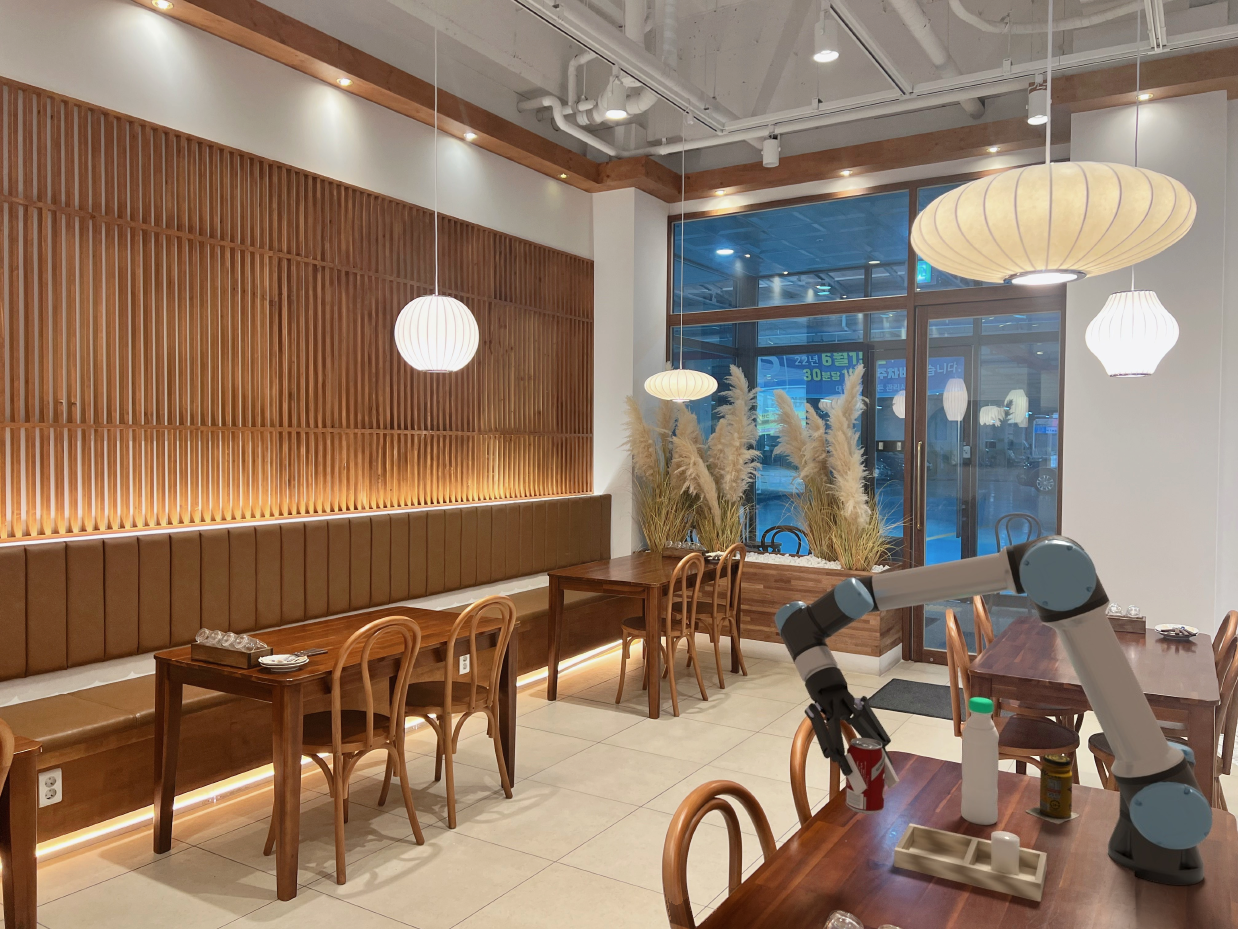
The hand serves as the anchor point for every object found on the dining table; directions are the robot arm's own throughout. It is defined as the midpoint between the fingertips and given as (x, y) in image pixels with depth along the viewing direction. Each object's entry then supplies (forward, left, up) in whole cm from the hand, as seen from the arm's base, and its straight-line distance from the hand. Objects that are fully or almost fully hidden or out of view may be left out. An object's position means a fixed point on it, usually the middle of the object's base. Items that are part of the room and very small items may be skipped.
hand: (877, 788), depth 155 cm
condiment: (-25, -48, -17) cm, 57 cm away
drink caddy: (-14, -11, -16) cm, 24 cm away
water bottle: (-12, -37, -17) cm, 42 cm away
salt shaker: (-20, -11, -15) cm, 27 cm away
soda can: (+3, -2, -5) cm, 6 cm away
